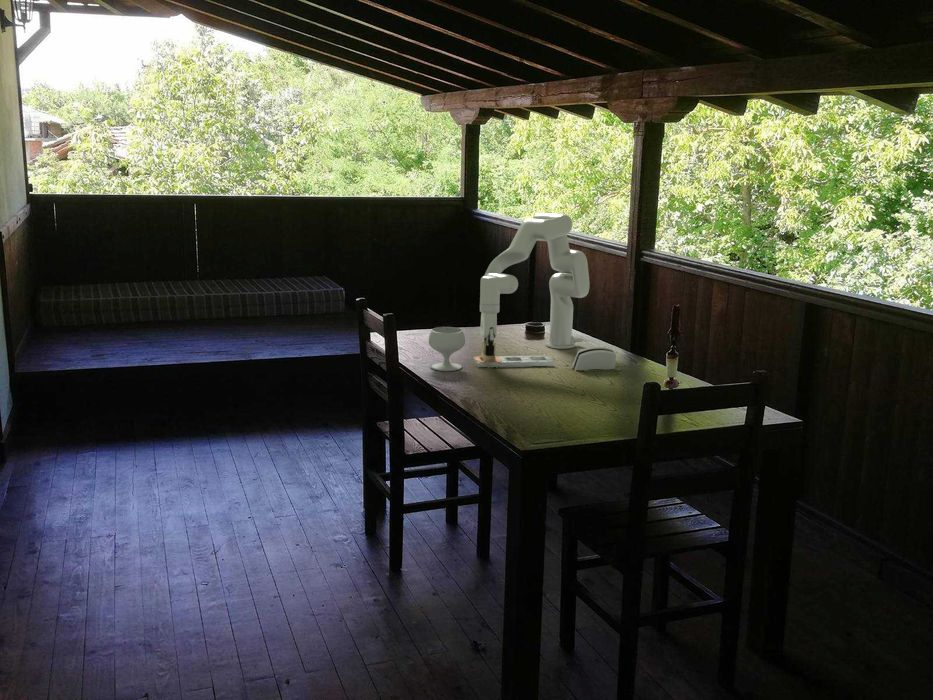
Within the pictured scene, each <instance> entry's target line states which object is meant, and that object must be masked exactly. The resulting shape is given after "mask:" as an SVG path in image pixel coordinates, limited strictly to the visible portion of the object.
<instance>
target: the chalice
mask: <svg viewBox="0 0 933 700" xmlns="http://www.w3.org/2000/svg"><path fill="white" fill-rule="evenodd" d="M465 344H466V336H465V333H464V331H463V329H462V328H460V327H455V326H439V327H438V326H436V327H434V328H432V329H431V330H430V333H429V335H428V345H429V346H430V348H432V349H433V350H434V351H436V352H437V353H440V354H441V355H442V357H443V362H439V363H434V364H432V365H431V366H430V368H431V369H433V370H436V371H441V372H453V371H454V372H455V371H459V370H462V369H463V366H462V365H461V364H458V363H456V362H455V363H454V362H450V357H451V356H452V355H453V354H454V353H456V352H458V351H460V350H461V349H463V348H464V346H465Z"/></svg>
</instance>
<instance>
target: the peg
mask: <svg viewBox="0 0 933 700" xmlns="http://www.w3.org/2000/svg"><path fill="white" fill-rule="evenodd" d="M486 345H487V341H484V340H481V356H482V361H495V356H496V347H497V346H496V342H495V341H494V356H486Z"/></svg>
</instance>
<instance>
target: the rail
mask: <svg viewBox="0 0 933 700" xmlns="http://www.w3.org/2000/svg"><path fill="white" fill-rule="evenodd" d="M474 362H475V363H474ZM473 363H474V364H476V365H477V366H476V365H475V366H476V367H478V369H480V368H479V367H488V368H487V369H490V368H489V367H496V368H495V369H497V368H498V367H500V368H533V367H532V366H547V367H554V365H555V364H554V363H555V361H554V360H553V359H552V358H551V357H550V356H549V355H548V354H547V355H509V356H508V355H504V356H503V355H502V356H501V355H500V356H497V355H495V361H482V355H479V356H478V355H477V356H473Z"/></svg>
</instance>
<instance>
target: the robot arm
mask: <svg viewBox="0 0 933 700" xmlns="http://www.w3.org/2000/svg"><path fill="white" fill-rule="evenodd" d="M572 228H573V220H572V218H571V217H570V216H569V215H567V214H565V213H554V212H538V213H535V214H534V215H533V217H531V218H526V219H524V220H523V221H522V222H521V223H520V225H519V227H518V230H517V231H516V233H515V235H514V237H513V239H512V240H511V242H510V244H509V247H508V248H507V249H506V250H503V252H501V253H499V255H497V256H496V257H495V258H493V260H492V261H491V262H490V264H489V265H488V267H487V269H486V271H485V273H484V275H483V276H481V278H480V288H479V289H480V292H479V294H480V295H479V296H480V297H479V312H480V313H481V314H480V330H479V331H480V332H479V333H480V335H481V337H482V338H483V341H487V345H486V356H494V342H495V338H497V333H498V331H497V328H498V327H497V326H498V321H497V320H498V318H497V316H498V315H497V314H498V313H500V302H501V301H500V298H501V297H500V295H501V294H503V295H505V294H506V295H507V294H514V293H515V292H516V291H517V289H518V287H519V282H518V281H519V280H518V278H517V277H516V276H515V275H512V274H507V273H503V272H504V270H506V269H507V268H508V267H510V266H512V265H515V264H519V263H521V262H524V261H525V260H527V259H528V258H529V257H530V254H531V253H532V250H533V248H534V246H535V245H536V243H537V241H541V242H546V243H547V246H548V247H547V248H548V256H549V257H548V258H549V261H550V262H549V264H550V266H551V269H552V270H554V271H556V272H557V273H554V274H552V275H551V277H550V278H549V282H548V286H549V292H550V319H549V320H550V321H549V340H548V341H546V342H545V346H546V347H547V348H552V349H556V350H557V349H558V350H565V349H566V350H568V349H572V348H575V347H576V343H583V340H584V338H583V337H579V336H573V320H574V303H573V300H572V298H578V299H582V298H586V297H587V295H588V294H589V290H590V276H589V275H590V274H589V266H588V265H589V264H588V258H587V256H586V254H585V253H584V252H583V251H581V250H576V249H571V248H570V245H569V238H568V234H569V233H570V232H571V231H572Z"/></svg>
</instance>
